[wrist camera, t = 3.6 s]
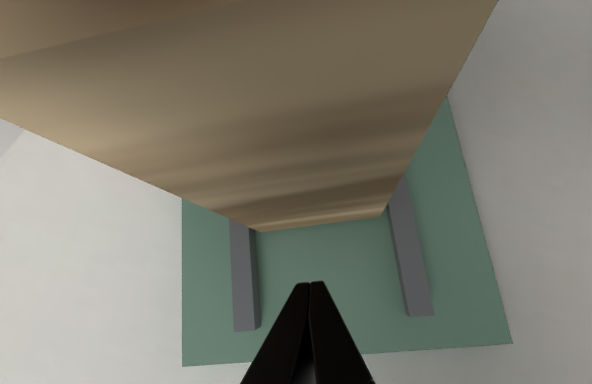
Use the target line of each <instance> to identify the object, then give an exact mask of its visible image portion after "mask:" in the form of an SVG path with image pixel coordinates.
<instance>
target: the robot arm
mask: <svg viewBox="0 0 592 384" xmlns="http://www.w3.org/2000/svg"><path fill="white" fill-rule="evenodd" d="M240 384H375V382H374V381H373V378H372V376H371V374H370V372H369V370H368V368H367V366H366V364H365V362H364V360H363V358H362V356H361V354H360V352H359V350H358V348H357V346H356V344H355V342H354V340H353V338H352V336H351V334H350V332H349V330H348V328H347V326H346V324H345V322H344V320H343V318H342V316H341V314H340V312H339V310H338V308H337V306H336V304H335V302H334V300H333V298H332V296H331V294H330V292H329V290H328V288H327V286H326V284H325V282H324V281H322V280H320V281H312V282H311V283H309V282H301V283H297V284H296V285H295V286H294V288H293V290H292V292H291V294H290V295H289V297H288V299H287V301H286V302H285V304H284V306H283V308H282V310H281V311H280V313H279V315H278V317H277V319H276V320H275V322H274V324H273V326H272V328H271V329H270V331H269V333H268V335H267V336H266V338H265V340H264V342H263V344H262V345H261V347H260V349H259V351H258V353H257V354H256V356H255V358H254V360H253V362H252V363H251V365H250V367H249V369H248V370H247V372H246V374H245V376H244V378H243V379H242V381H241V383H240Z"/></svg>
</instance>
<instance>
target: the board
mask: <svg viewBox="0 0 592 384" xmlns="http://www.w3.org/2000/svg"><path fill="white" fill-rule="evenodd" d="M320 280H322V281H324V282H325V284H326V286H327V288H328V290H329V292H330V294H331V296H332V298H333V300H334V302H335V304H336V306H337V308H338V310H339V312H340V314H341V316H342V318H343V320H344V322H345V324H346V326H347V328H348V330H349V332H350V334H351V336H352V338H353V340H354V342H355V344H356V346H357V348H358V350H359V352H360V354H370V353H385V352H399V351H413V350H427V349H442V348H456V347H470V346H484V345H499V344H513V342H512V338H511V334H510V330H509V327H508V323H507V319H506V316H505V312H504V308H503V304H502V301H501V297H500V293H499V289H498V286H497V282H496V278H495V275H494V271H493V267H492V263H491V260H490V256H489V252H488V248H487V245H486V241H485V237H484V234H483V230H482V226H481V222H480V219H479V215H478V211H477V207H476V204H475V200H474V196H473V193H472V189H471V185H470V181H469V178H468V174H467V170H466V166H465V163H464V159H463V155H462V151H461V148H460V144H459V140H458V137H457V133H456V129H455V125H454V122H453V118H452V114H451V110H450V107H449V103H448V99H447V96H446V97H445V99H444V101H443V103H442V104H441V106H440V108H439V110H438V112H437V114H436V115H435V117H434V119H433V121H432V123H431V125H430V126H429V128H428V130H427V132H426V134H425V136H424V137H423V139H422V141H421V143H420V145H419V147H418V148H417V150H416V152H415V154H414V156H413V157H412V159H411V161H410V163H409V165H408V167H407V168H406V170H405V172H404V174H403V176H402V178H401V179H400V181H399V183H398V185H397V187H396V189H395V190H394V192H393V194H392V196H391V198H390V200H389V201H388V203H387V205H386V207H385V209H384V211H383V212H382V214H381V216H380V217H374V218H367V219H359V220H351V221H344V222H336V223H328V224H320V225H313V226H305V227H297V228H290V229H282V230H274V231H266V232H259V231H256V230H254V229H252V228H249V227H247V226H245V225H243V224H240V223H238V222H236V221H234V220H231V219H229V218H227V217H224V216H222V215H220V214H218V213H215V212H213V211H211V210H208V209H206V208H204V207H202V206H199V205H197V204H195V203H192V202H190V201H188V200H186V199H183V198H182V367H185V366H199V365H213V364H228V363H242V362H253V360H254V358H255V356H256V354H257V353H258V351H259V349H260V347H261V345H262V344H263V342H264V340H265V338H266V336H267V335H268V333H269V331H270V329H271V328H272V326H273V324H274V322H275V320H276V319H277V317H278V315H279V313H280V311H281V310H282V308H283V306H284V304H285V302H286V301H287V299H288V297H289V295H290V294H291V292H292V290H293V288H294V286H295V285H296V284H297V283H301V282H309V283H311V282H312V281H320Z"/></svg>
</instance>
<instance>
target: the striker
mask: <svg viewBox="0 0 592 384" xmlns="http://www.w3.org/2000/svg"><path fill="white" fill-rule="evenodd" d="M497 2H498V0H0V118H1V119H3V120H6V121H8V122H10V123H13V124H15V125H17V126H19V127H21V128H24V129H26V130H28V131H31V132H33V133H35V134H37V135H40V136H42V137H44V138H47V139H49V140H51V141H53V142H56V143H58V144H60V145H63V146H65V147H67V148H69V149H72V150H74V151H76V152H78V153H81V154H83V155H85V156H88V157H90V158H92V159H94V160H97V161H99V162H101V163H104V164H106V165H108V166H110V167H113V168H115V169H117V170H120V171H122V172H124V173H126V174H129V175H131V176H133V177H135V178H138V179H140V180H142V181H145V182H147V183H149V184H151V185H154V186H156V187H158V188H161V189H163V190H165V191H167V192H170V193H172V194H174V195H177V196H179V197H181V198H183V199H186V200H188V201H190V202H192V203H195V204H197V205H199V206H202V207H204V208H206V209H208V210H211V211H213V212H215V213H218V214H220V215H222V216H224V217H227V218H229V219H231V220H234V221H236V222H238V223H240V224H243V225H245V226H247V227H249V228H252V229H254V230H256V231H259V232H266V231H274V230H282V229H290V228H297V227H305V226H313V225H320V224H328V223H336V222H344V221H351V220H359V219H367V218H374V217H380V216H381V214H382V212H383V211H384V209H385V207H386V205H387V203H388V201H389V200H390V198H391V196H392V194H393V192H394V190H395V189H396V187H397V185H398V183H399V181H400V179H401V178H402V176H403V174H404V172H405V170H406V168H407V167H408V165H409V163H410V161H411V159H412V157H413V156H414V154H415V152H416V150H417V148H418V147H419V145H420V143H421V141H422V139H423V137H424V136H425V134H426V132H427V130H428V128H429V126H430V125H431V123H432V121H433V119H434V117H435V115H436V114H437V112H438V110H439V108H440V106H441V104H442V103H443V101H444V99H445V97H446V95H447V93H448V92H449V90H450V88H451V86H452V84H453V82H454V81H455V79H456V77H457V75H458V73H459V72H460V70H461V68H462V66H463V64H464V62H465V61H466V59H467V57H468V55H469V53H470V51H471V50H472V48H473V46H474V44H475V42H476V40H477V39H478V37H479V35H480V33H481V31H482V29H483V28H484V26H485V24H486V22H487V20H488V18H489V17H490V15H491V13H492V11H493V9H494V7H495V6H496V4H497Z"/></svg>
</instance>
